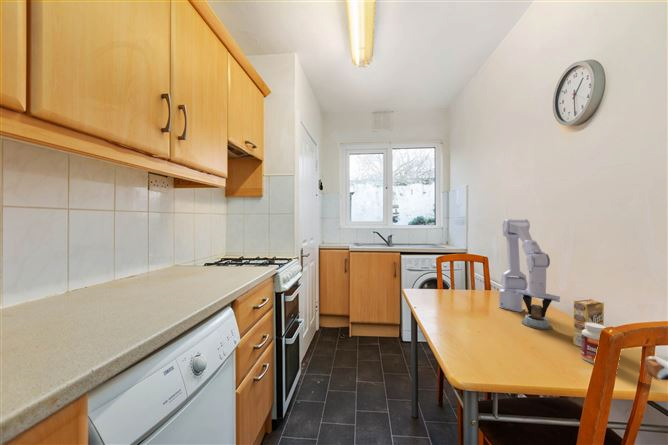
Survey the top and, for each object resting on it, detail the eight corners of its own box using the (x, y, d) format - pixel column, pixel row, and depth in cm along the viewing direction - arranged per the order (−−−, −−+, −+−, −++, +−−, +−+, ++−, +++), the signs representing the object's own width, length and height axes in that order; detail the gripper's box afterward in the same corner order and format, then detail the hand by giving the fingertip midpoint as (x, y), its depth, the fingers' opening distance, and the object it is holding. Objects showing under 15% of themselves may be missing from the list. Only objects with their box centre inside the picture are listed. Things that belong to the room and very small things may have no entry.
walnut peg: (529, 319, 112) (529, 305, 112) (532, 317, 114) (532, 303, 114) (541, 322, 109) (541, 307, 109) (543, 320, 111) (544, 305, 111)
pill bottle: (585, 363, 82) (586, 326, 82) (577, 354, 87) (578, 320, 87) (613, 367, 79) (613, 330, 79) (602, 358, 85) (603, 323, 85)
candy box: (586, 349, 90) (587, 304, 90) (572, 344, 94) (573, 300, 94) (604, 346, 93) (605, 302, 93) (589, 341, 97) (590, 298, 97)
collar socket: (519, 324, 112) (519, 317, 112) (524, 318, 119) (524, 312, 118) (549, 332, 104) (549, 324, 104) (553, 325, 111) (553, 318, 111)
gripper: (514, 280, 114) (513, 313, 114) (558, 287, 103) (557, 322, 103) (518, 278, 119) (517, 309, 119) (561, 284, 108) (560, 318, 108)
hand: (536, 315), depth 111 cm, fingers closed on walnut peg, 4 cm apart
